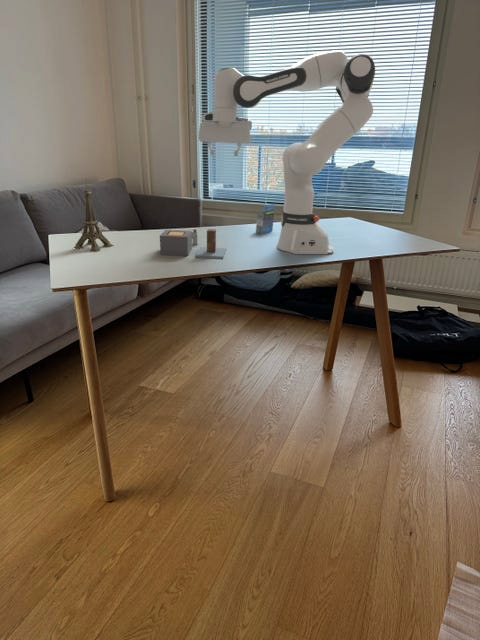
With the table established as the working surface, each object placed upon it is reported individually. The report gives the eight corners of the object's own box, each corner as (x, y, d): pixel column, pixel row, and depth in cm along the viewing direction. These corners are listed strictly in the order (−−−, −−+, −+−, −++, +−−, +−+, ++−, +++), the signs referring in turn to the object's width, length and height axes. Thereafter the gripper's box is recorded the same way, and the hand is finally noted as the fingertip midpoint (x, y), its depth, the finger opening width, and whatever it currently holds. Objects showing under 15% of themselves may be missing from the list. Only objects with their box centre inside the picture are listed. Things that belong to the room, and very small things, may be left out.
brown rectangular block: (215, 250, 160) (216, 229, 156) (214, 252, 157) (215, 231, 154) (207, 250, 160) (207, 229, 156) (206, 252, 157) (206, 230, 154)
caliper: (197, 245, 170) (197, 230, 167) (194, 246, 169) (194, 230, 167) (184, 234, 187) (184, 219, 184) (181, 234, 186) (181, 220, 184)
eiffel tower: (72, 248, 158) (63, 178, 148) (90, 242, 167) (83, 176, 157) (96, 252, 155) (88, 180, 145) (113, 245, 164) (107, 178, 154)
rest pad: (225, 250, 164) (225, 248, 164) (223, 258, 153) (223, 256, 153) (200, 248, 164) (200, 246, 164) (195, 257, 153) (195, 255, 153)
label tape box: (265, 229, 201) (267, 203, 196) (273, 231, 199) (275, 204, 193) (255, 232, 194) (256, 205, 189) (262, 234, 192) (264, 206, 187)
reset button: (184, 240, 160) (184, 232, 158) (182, 243, 155) (182, 235, 154) (170, 239, 160) (170, 231, 159) (168, 242, 155) (167, 234, 154)
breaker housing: (192, 249, 163) (191, 231, 161) (187, 256, 154) (187, 237, 151) (166, 247, 164) (165, 229, 161) (160, 254, 155) (159, 235, 152)
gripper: (252, 118, 166) (250, 156, 171) (200, 115, 166) (200, 153, 172) (251, 117, 160) (250, 156, 165) (197, 115, 160) (198, 154, 166)
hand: (224, 155), depth 169 cm, fingers open, 8 cm apart
